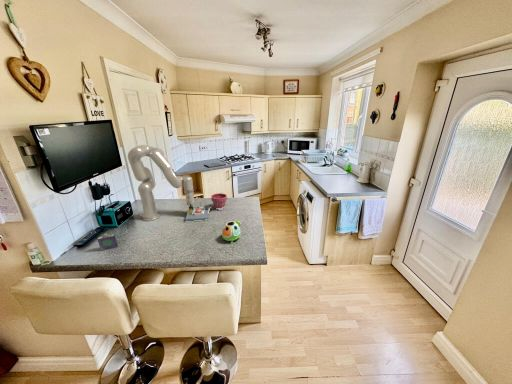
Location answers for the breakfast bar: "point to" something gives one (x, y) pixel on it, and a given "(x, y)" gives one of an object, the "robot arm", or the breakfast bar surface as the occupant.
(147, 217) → the robot arm
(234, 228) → the turtle holder
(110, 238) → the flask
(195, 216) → the panel
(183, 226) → the breakfast bar surface
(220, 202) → the plant pot
